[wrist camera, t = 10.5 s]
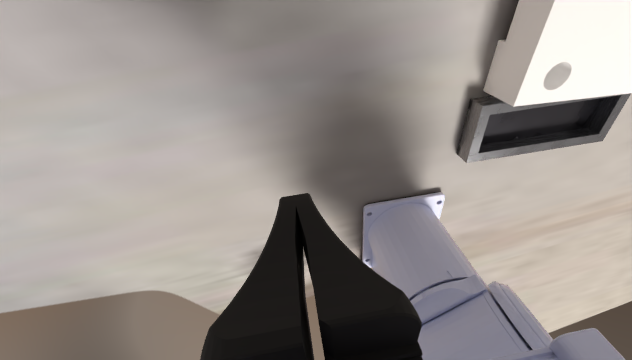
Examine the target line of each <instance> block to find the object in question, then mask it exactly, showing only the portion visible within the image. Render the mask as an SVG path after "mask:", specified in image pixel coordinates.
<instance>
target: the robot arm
mask: <svg viewBox="0 0 632 360" xmlns="http://www.w3.org/2000/svg"><path fill="white" fill-rule="evenodd" d="M444 199H445V195H444V194H443V193H442V192H438V193H432V194H427V195H421V196H415V197H409V198H403V199H397V200H391V201H385V202H379V203H373V204H368V205H366V206H365V207H364V208H363V254H362V261H361V260H360V259H359V258H358V257H357V256H356V255H355V254H354V253H353V252H352V251H351V250H349V249H348V248H347V246H346V245H345V244H344V243H343V242H342V241H341V240H340V239H339V238H338V237H337V236H336V234H335V233H334V232H333V231H332V230H331V228H330V227H329V226H328V224H327V223H326V222H325V220H324V219H323V217H322V216H321V214H320V213H319V211H318V210H317V208H316V206H315V204H314V203H313V201H312V198H311V196H310V194H308V193H305V194H299V195H293V196H287V197H282V198H281V199H280V201H279V207H278V211H277V215H276V218H275V221H274V224H273V227H272V230H271V233H270V235H269V238H268V240H267V242H266V245H265V247H264V249H263V251H262V253H261V255H260V257H259V259H258V261H257V263H256V265H255V266H254V268H253V270H252V272H251V273H250V275H249V277H248V278H247V280H246V281H245V283H244V284H243V286H242V287H241V289H240V290H239V291H238V293H237V294H236V296H235V297H234V298H233V300H232V301H231V303H230V304H229V305H228V306H227V308H226V309H225V310H224V311H223V312H222V314H221V315H220V316H219V317H218V319H217V320H216V321H215V322H214V323H213V324H212V326H211V327H210V328H209V331H208V334H207V336H206V339H205V343H204V346H203V350H202V354H201V359H200V360H314V356H313V348H312V341H311V334H310V327H309V319H308V312H307V304H306V297H305V281H304V258H303V248H304V252H305V256H306V260H307V264H308V268H309V272H310V276H311V280H312V284H313V288H314V294H315V300H316V307H317V313H318V319H319V326H320V332H321V338H322V344H323V350H324V356H325V360H625V359H624V358H623V357H622V355H621V354H620V353H619V352H618V351H617V350H616V349H615V348H614V347H613V346H612V345H611V344H610V343H609V342H608V341H607V340H606V338H604V336H602V334H601V333H600V332H599V331H598V330H597V329H595V328H590V329H585V330H580V331H575V332H571V333H566V334H563V335H560V336H558V337H557V338H555V339H554V340H553V339H552V338H551V336H550V335H549V334H548V333H547V331H546V330H545V329H544V328H543V326H542V325H541V324H540V323H539V321H538V320H537V319H536V318H535V316H534V315H533V314H532V313H531V312H530V310H529V309H528V308H527V307H526V306H525V304H524V303H523V302H522V301H521V300H520V298H519V297H518V296H517V295H516V294H515V293H514V291H513V290H512V289H511V288H510V287H509V286H508V285H504V284H499V283H498V282H492V283H490V284H489V285H487V284H486V283H485V282H484V281H483V280H482V279H481V277H480V276H479V275H478V273H477V272H476V270H475V269H474V268H473V266H472V265H471V263H470V262H469V261H468V259H467V258H466V256H465V255H464V254H463V252H462V251H461V250H460V248H459V247H458V245H457V244H456V243H455V241H454V240H453V238H452V237H451V236H450V234H449V233H448V231H447V230H446V229H445V227H444V226H443V225H442V223H441V222H440V220H439V219H440V215H441V211H442V207H443V203H444ZM369 212H370V213H369ZM367 213H368V214H367ZM371 267H372V268H373V270H374V271H373V270H372V269H371Z"/></svg>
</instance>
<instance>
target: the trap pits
mask: <svg viewBox="0 0 632 360" xmlns="http://www.w3.org/2000/svg"><path fill="white" fill-rule="evenodd" d="M630 94H631V93H629V94H620V95H611V96H602V97H594V98H585V99H576V100H567V101H558V102H550V103H541V104H532V105H523V106H514V107H513V106H511V105H509V104H507V103H506V102H504V101H502V100H500V99H498V98H496V97H494V96H488V97H482V98H475V99H470V103H469V107H468V111H467V115H466V119H465V123H464V127H463V131H462V135H461V139H460V143H459V147H458V151H457V155H458V156H460V157H461V158H462V159H463V160H464V161H465V162H466V163H470V162H476V161H482V160H488V159H494V158H500V157H507V156H513V155H519V154H525V153H531V152H537V151H544V150H550V149H556V148H562V147H568V146H574V145H581V144H587V143H593V142H599V141H603V139H604V138H605V136H606V134H607V133H608V131H609V129H610V128H611V126H612V124H613V123H614V121H615V119H616V118H617V116H618V114H619V113H620V111H621V109H622V108H623V106H624V104H625V103H626V101H627V99H628V98H629V96H630Z"/></svg>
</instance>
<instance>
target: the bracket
mask: <svg viewBox="0 0 632 360" xmlns="http://www.w3.org/2000/svg"><path fill="white" fill-rule="evenodd" d="M483 91H485V92H486V93H488V94H490V95H492V96H494V97H496V98H498V99H500V100H502V101H504V102H506V103H507V104H509V105H511V106H513V107H514V106H523V105H532V104H541V103H550V102H558V101H567V100H576V99H585V98H594V97H602V96H611V95H620V94H629V93H632V0H519V2H518V5H517V8H516V11H515V14H514V17H513V20H512V23H511V26H510V30H509V33H508V36H507V39H505V40H499V41H498V44H497V47H496V51H495V54H494V57H493V60H492V63H491V67H490V70H489V73H488V76H487V80H486V83H485V86H484V89H483Z"/></svg>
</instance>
